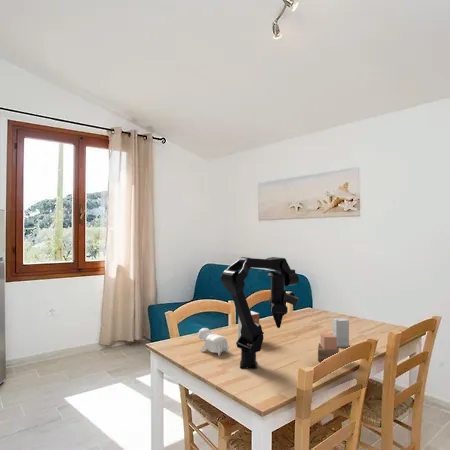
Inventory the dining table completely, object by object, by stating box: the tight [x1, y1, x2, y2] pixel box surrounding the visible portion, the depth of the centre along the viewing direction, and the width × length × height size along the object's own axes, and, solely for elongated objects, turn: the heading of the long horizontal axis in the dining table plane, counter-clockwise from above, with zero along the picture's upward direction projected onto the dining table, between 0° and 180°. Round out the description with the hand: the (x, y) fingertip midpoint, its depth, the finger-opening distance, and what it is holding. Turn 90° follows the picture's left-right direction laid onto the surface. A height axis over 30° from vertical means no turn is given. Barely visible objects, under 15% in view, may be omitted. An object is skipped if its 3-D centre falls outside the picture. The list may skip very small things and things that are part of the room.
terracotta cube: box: [320, 332, 337, 350], centre depth 138 cm, size 5×5×5 cm
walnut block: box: [317, 342, 340, 363], centre depth 138 cm, size 8×8×5 cm
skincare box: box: [332, 317, 350, 348], centre depth 154 cm, size 6×4×12 cm
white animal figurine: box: [197, 327, 230, 357], centre depth 147 cm, size 8×8×15 cm
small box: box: [237, 310, 260, 340], centre depth 160 cm, size 8×6×13 cm
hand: (277, 324), depth 141 cm, fingers open, 9 cm apart
